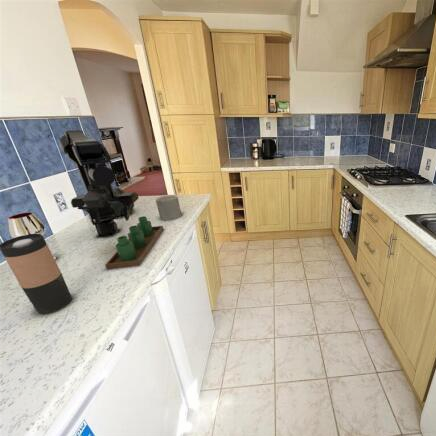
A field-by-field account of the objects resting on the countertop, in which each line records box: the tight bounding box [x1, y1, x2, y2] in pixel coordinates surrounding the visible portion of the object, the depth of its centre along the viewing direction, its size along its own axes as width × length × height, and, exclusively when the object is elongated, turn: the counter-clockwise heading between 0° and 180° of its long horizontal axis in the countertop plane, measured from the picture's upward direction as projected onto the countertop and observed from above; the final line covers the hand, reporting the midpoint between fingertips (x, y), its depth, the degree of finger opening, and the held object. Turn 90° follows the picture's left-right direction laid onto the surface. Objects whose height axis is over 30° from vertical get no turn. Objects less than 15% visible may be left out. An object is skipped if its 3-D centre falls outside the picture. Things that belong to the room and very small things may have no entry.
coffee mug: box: [155, 194, 182, 221], centre depth 123 cm, size 13×10×10 cm
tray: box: [104, 225, 165, 270], centre depth 95 cm, size 10×29×2 cm, turn 11°
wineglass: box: [7, 211, 57, 261], centre depth 83 cm, size 8×8×18 cm
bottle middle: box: [126, 225, 146, 249], centre depth 94 cm, size 5×5×8 cm
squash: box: [109, 187, 135, 217], centre depth 125 cm, size 14×15×15 cm
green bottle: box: [115, 235, 137, 262], centre depth 85 cm, size 5×5×8 cm
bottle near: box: [136, 215, 154, 238], centre depth 102 cm, size 5×5×8 cm
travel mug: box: [0, 234, 73, 315], centre depth 63 cm, size 8×8×20 cm
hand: (113, 221), depth 88 cm, fingers open, 9 cm apart
